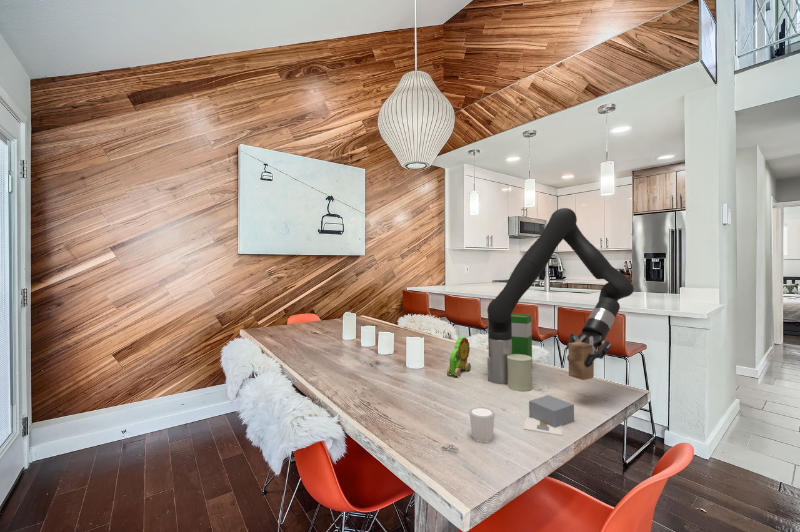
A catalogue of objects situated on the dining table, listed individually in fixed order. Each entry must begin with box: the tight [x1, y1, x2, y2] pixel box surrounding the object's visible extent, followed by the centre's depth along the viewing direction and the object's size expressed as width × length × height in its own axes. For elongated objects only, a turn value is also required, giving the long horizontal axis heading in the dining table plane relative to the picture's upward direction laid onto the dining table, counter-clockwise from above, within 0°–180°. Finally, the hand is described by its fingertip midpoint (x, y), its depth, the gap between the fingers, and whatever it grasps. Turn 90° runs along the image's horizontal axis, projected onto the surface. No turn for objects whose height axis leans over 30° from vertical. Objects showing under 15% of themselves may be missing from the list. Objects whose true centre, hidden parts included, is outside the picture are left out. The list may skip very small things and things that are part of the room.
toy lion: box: [446, 336, 472, 378], centre depth 155 cm, size 16×5×15 cm, turn 144°
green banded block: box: [487, 313, 533, 358], centre depth 161 cm, size 18×7×24 cm, turn 56°
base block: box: [528, 394, 575, 428], centre depth 108 cm, size 9×9×5 cm
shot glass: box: [468, 406, 495, 442], centre depth 98 cm, size 7×7×7 cm
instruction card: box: [523, 416, 563, 436], centre depth 103 cm, size 10×8×1 cm
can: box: [506, 354, 534, 392], centre depth 135 cm, size 9×9×12 cm
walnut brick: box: [568, 342, 595, 381], centre depth 118 cm, size 5×5×11 cm
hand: (577, 363), depth 117 cm, fingers closed on walnut brick, 5 cm apart
